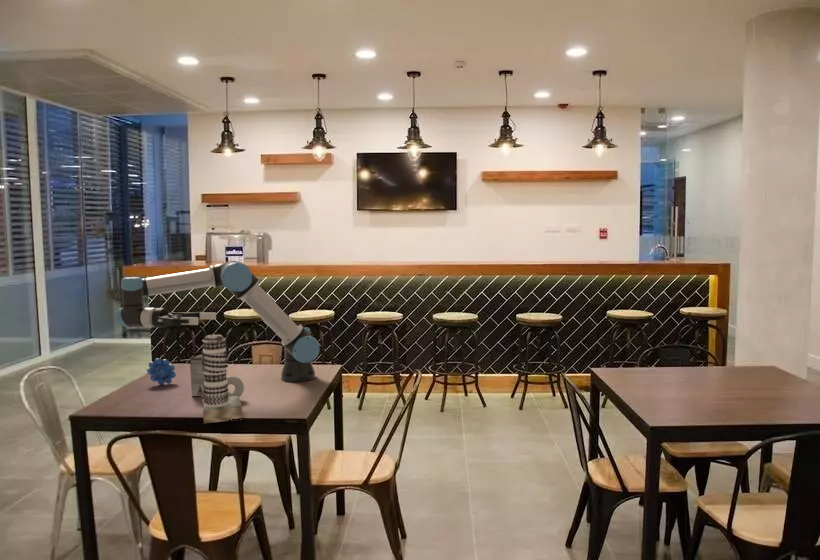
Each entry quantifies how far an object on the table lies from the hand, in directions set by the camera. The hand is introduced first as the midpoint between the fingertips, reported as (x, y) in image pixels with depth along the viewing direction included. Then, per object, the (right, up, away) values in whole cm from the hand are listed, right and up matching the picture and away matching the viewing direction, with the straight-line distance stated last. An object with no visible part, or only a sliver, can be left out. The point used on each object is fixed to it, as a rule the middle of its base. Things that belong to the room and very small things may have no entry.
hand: (206, 318), depth 238 cm
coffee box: (-8, -33, +20) cm, 39 cm away
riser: (+9, -35, -10) cm, 37 cm away
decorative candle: (+8, -30, -13) cm, 34 cm away
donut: (+7, -33, +10) cm, 35 cm away
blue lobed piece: (-31, -32, +36) cm, 57 cm away
